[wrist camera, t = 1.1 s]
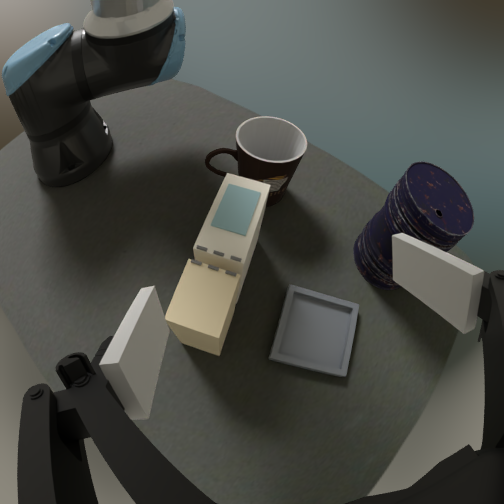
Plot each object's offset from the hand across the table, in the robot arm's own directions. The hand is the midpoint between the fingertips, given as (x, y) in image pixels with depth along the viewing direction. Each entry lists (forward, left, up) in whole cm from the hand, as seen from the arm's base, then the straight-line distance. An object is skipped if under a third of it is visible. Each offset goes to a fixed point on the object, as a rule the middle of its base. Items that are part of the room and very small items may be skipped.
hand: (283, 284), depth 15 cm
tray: (+7, +4, -19) cm, 21 cm away
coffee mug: (-6, +22, -20) cm, 30 cm away
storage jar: (+15, +17, -20) cm, 30 cm away
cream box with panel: (-5, +9, -19) cm, 22 cm away
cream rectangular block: (-5, +1, -19) cm, 20 cm away
